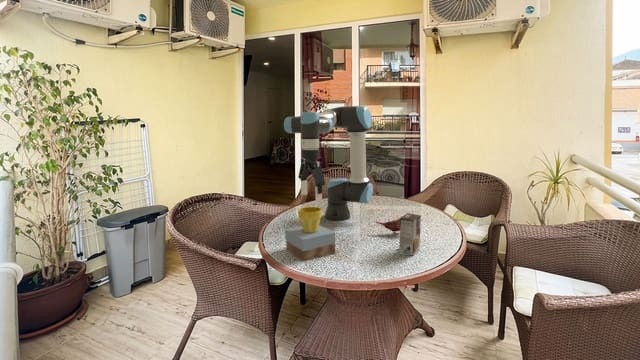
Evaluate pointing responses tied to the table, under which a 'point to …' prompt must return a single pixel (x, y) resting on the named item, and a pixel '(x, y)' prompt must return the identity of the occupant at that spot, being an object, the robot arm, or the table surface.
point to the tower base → (310, 251)
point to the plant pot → (310, 218)
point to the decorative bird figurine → (392, 225)
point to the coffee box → (409, 234)
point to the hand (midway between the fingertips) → (311, 197)
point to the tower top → (309, 238)
